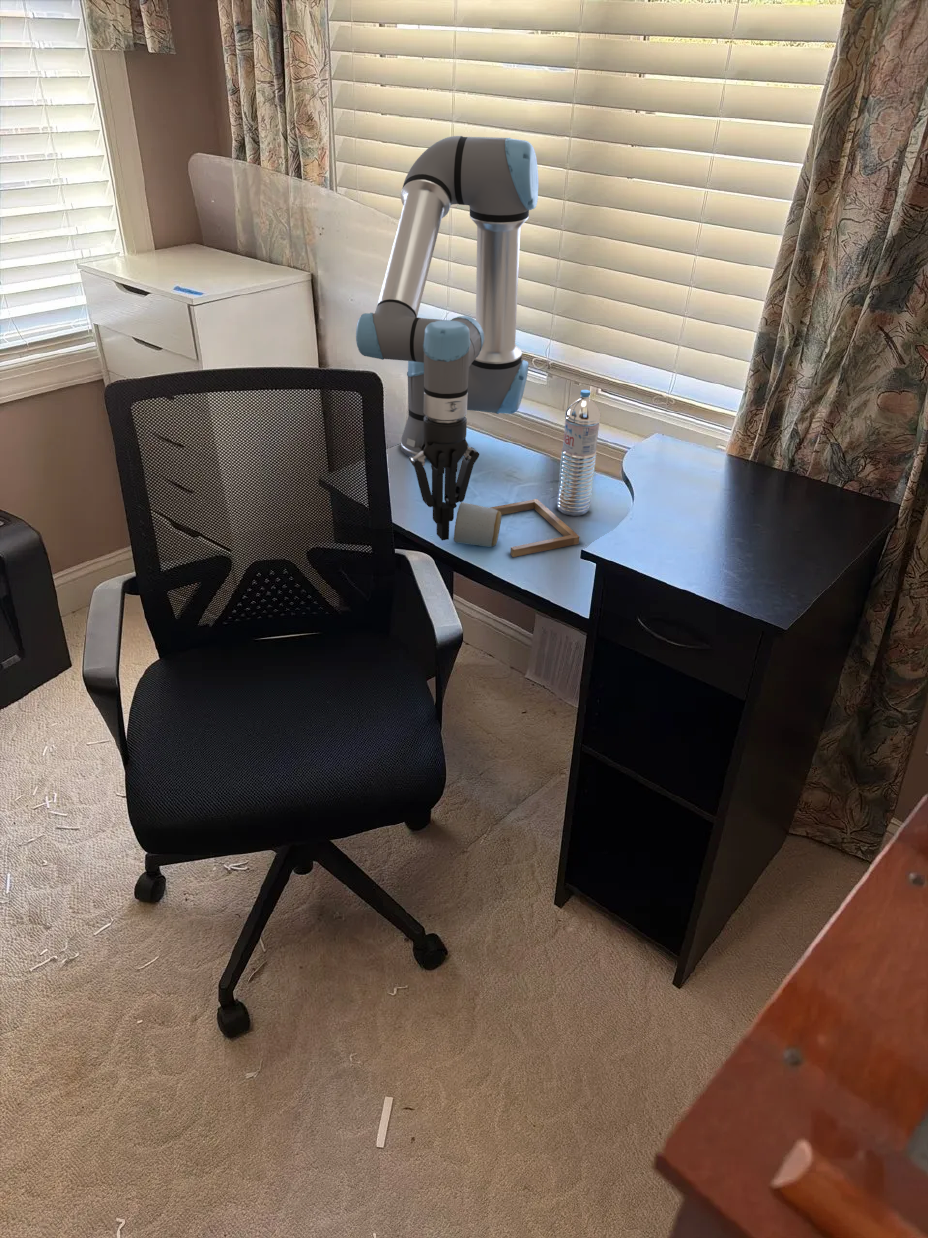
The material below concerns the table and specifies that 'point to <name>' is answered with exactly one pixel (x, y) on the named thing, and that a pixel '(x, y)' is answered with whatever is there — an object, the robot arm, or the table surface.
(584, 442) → the water bottle
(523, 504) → the oak frame
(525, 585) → the table surface
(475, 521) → the ceramic mug
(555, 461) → the table surface
